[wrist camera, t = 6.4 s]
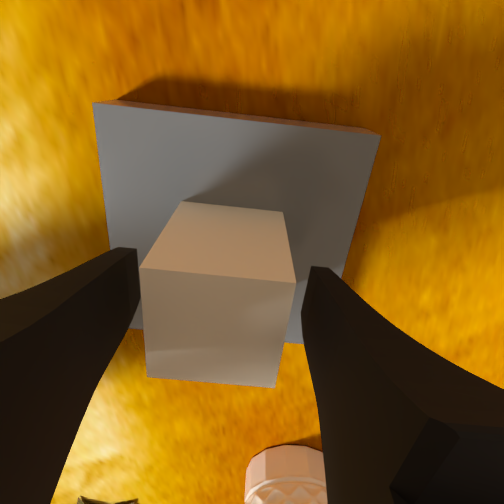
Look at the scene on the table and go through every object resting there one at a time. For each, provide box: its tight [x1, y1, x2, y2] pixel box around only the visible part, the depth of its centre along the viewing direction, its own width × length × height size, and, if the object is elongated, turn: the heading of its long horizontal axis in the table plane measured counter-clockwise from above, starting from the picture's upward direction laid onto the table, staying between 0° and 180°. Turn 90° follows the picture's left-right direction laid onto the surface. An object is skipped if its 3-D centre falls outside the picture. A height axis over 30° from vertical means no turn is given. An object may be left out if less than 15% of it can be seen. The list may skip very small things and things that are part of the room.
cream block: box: [139, 201, 296, 388], centre depth 11 cm, size 4×4×5 cm
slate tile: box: [92, 100, 381, 344], centre depth 14 cm, size 10×10×2 cm
